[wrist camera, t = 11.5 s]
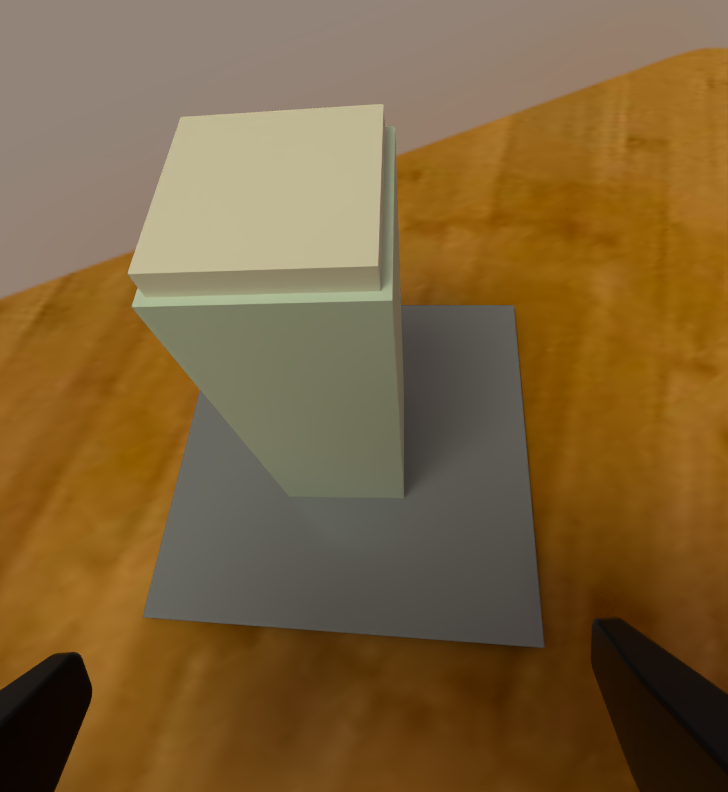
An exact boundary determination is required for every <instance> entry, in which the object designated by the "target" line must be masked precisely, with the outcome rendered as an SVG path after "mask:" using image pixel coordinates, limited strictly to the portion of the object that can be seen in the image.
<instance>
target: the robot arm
mask: <svg viewBox="0 0 728 792" xmlns="http://www.w3.org/2000/svg"><path fill="white" fill-rule="evenodd" d="M591 663H592V668H593V671H594V674H595V677H596V680H597V682H598V685H599V688H600V691H601V693H602V696H603V699H604V701H605V704H606V707H607V709H608V712H609V715H610V718H611V720H612V723H613V726H614V728H615V731H616V734H617V736H618V739H619V742H620V744H621V747H622V750H623V753H624V755H625V758H626V760H627V763H628V766H629V768H630V771H631V773H632V776H633V778H634V780H635V782H636V784H637V787H638V789H639V791H640V792H728V694H727V693H726V692H724V691H723V690H722V689H720V688H719V687H717V686H716V685H715V684H713V683H712V682H710V681H709V680H707V679H706V678H705V677H703V676H702V675H700V674H699V673H698V672H696V671H695V670H693V669H692V668H691V667H689V666H688V665H686V664H685V663H684V662H682V661H681V660H679V659H678V658H676V657H675V656H674V655H672V654H671V653H669V652H668V651H667V650H665V649H664V648H662V647H661V646H660V645H658V644H657V643H655V642H654V641H652V640H651V639H650V638H648V637H647V636H645V635H644V634H643V633H641V632H640V631H638V630H637V629H636V628H634V627H633V626H631V625H630V624H629V623H627V622H626V621H624V620H623V619H621V618H618V617H607V618H596V619H595V620H594V621H593V623H592V637H591ZM91 698H92V685H91V682H90V679H89V676H88V673H87V671H86V668H85V665H84V662H83V659H82V657H81V655H80V654H78V653H76V652H67V653H57V654H53V655H51V656H50V657H48V658H47V659H45V660H44V661H42V662H41V663H39V664H38V665H36V666H35V667H34V668H32V669H31V670H29V671H28V672H26V673H25V674H23V675H22V676H20V677H19V678H18V679H16V680H15V681H13V682H12V683H10V684H9V685H7V686H6V687H4V688H3V689H2V690H0V792H54V791H55V789H56V787H57V784H58V782H59V779H60V777H61V774H62V772H63V769H64V767H65V764H66V762H67V759H68V757H69V754H70V752H71V749H72V747H73V744H74V742H75V739H76V737H77V734H78V732H79V730H80V727H81V725H82V722H83V720H84V717H85V715H86V712H87V710H88V707H89V705H90V702H91Z"/></svg>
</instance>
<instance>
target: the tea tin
mask: <svg viewBox="0 0 728 792" xmlns="http://www.w3.org/2000/svg"><path fill="white" fill-rule="evenodd" d="M128 276H129V277H130V278H131V279H132V281H133V282H134V283H135V285H136V286H137V287H138V289H137V292H136V295H135V298H134V301H133V304H132V308H133V309H134V311H135V312H136V313H137V314H138V315H139V317H140V318H141V319H142V320H143V321H144V323H145V324H146V325H147V326H148V327H149V329H150V330H151V331H152V332H153V334H154V335H155V336H156V337H157V338H158V340H159V341H160V342H161V343H162V344H163V346H164V347H165V348H166V349H167V350H168V352H169V353H170V354H171V355H172V356H173V358H174V359H175V360H176V361H177V362H178V364H179V365H180V366H181V367H182V368H183V370H184V371H185V372H186V373H187V374H188V376H189V377H190V378H191V379H192V380H193V382H194V383H195V384H196V385H197V386H198V388H199V389H200V390H201V391H202V392H203V394H204V395H205V396H206V397H207V398H208V400H209V401H210V402H211V403H212V404H213V406H214V407H215V408H216V409H217V410H218V412H219V413H220V414H221V415H222V416H223V418H224V419H225V420H226V421H227V423H228V424H229V425H230V426H231V427H232V429H233V430H234V431H235V432H236V433H237V435H238V436H239V437H240V438H241V439H242V441H243V442H244V443H245V444H246V445H247V447H248V448H249V449H250V450H251V451H252V453H253V454H254V455H255V456H256V457H257V459H258V460H259V461H260V462H261V463H262V465H263V466H264V467H265V468H266V469H267V471H268V472H269V473H270V474H271V475H272V477H273V478H274V479H275V480H276V481H277V483H278V484H279V485H280V486H281V487H282V489H283V490H284V491H285V492H286V493H287V495H288V496H289V497H351V498H404V379H403V349H402V319H401V290H400V260H399V230H398V200H397V171H396V142H395V126H392V127H385V122H384V104H376V105H362V106H361V105H360V106H345V107H330V108H314V109H299V110H284V111H269V112H253V113H237V114H222V115H208V116H207V115H206V116H192V117H181V118H180V121H179V124H178V127H177V130H176V133H175V136H174V139H173V142H172V145H171V148H170V150H169V154H168V156H167V159H166V162H165V165H164V168H163V171H162V174H161V177H160V180H159V183H158V186H157V189H156V192H155V194H154V197H153V200H152V203H151V206H150V209H149V212H148V215H147V218H146V221H145V224H144V227H143V230H142V233H141V236H140V239H139V242H138V245H137V247H136V250H135V253H134V256H133V259H132V262H131V265H130V268H129V271H128Z"/></svg>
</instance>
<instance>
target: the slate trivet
mask: <svg viewBox="0 0 728 792" xmlns="http://www.w3.org/2000/svg"><path fill="white" fill-rule="evenodd" d="M401 319H402V349H403V379H404V498H351V497H289V496H288V495H287V493H286V492H285V491H284V490H283V489H282V487H281V486H280V485H279V484H278V483H277V481H276V480H275V479H274V478H273V477H272V475H271V474H270V473H269V472H268V471H267V469H266V468H265V467H264V466H263V465H262V463H261V462H260V461H259V460H258V459H257V457H256V456H255V455H254V454H253V453H252V451H251V450H250V449H249V448H248V447H247V445H246V444H245V443H244V442H243V441H242V439H241V438H240V437H239V436H238V435H237V433H236V432H235V431H234V430H233V429H232V427H231V426H230V425H229V424H228V423H227V421H226V420H225V419H224V418H223V416H222V415H221V414H220V413H219V412H218V410H217V409H216V408H215V407H214V406H213V404H212V403H211V402H210V401H209V400H208V398H207V397H206V396H205V395H204V394H203V392H202V391H201V390H200V392H199V396H198V400H197V404H196V408H195V412H194V416H193V420H192V424H191V428H190V432H189V436H188V440H187V444H186V448H185V452H184V456H183V460H182V463H181V467H180V471H179V475H178V479H177V483H176V487H175V491H174V495H173V499H172V503H171V507H170V511H169V515H168V519H167V523H166V527H165V531H164V535H163V539H162V543H161V546H160V550H159V554H158V558H157V562H156V566H155V570H154V574H153V578H152V582H151V586H150V590H149V594H148V598H147V602H146V606H145V610H144V614H143V617H145V618H157V619H170V620H183V621H196V622H209V623H222V624H236V625H249V626H262V627H275V628H288V629H301V630H314V631H327V632H341V633H354V634H367V635H380V636H393V637H406V638H419V639H432V640H446V641H459V642H472V643H485V644H498V645H511V646H524V647H537V648H544V637H543V626H542V615H541V604H540V593H539V581H538V570H537V559H536V548H535V537H534V525H533V514H532V503H531V492H530V481H529V469H528V458H527V447H526V436H525V425H524V414H523V402H522V391H521V380H520V369H519V358H518V346H517V335H516V324H515V313H514V305H401Z"/></svg>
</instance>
